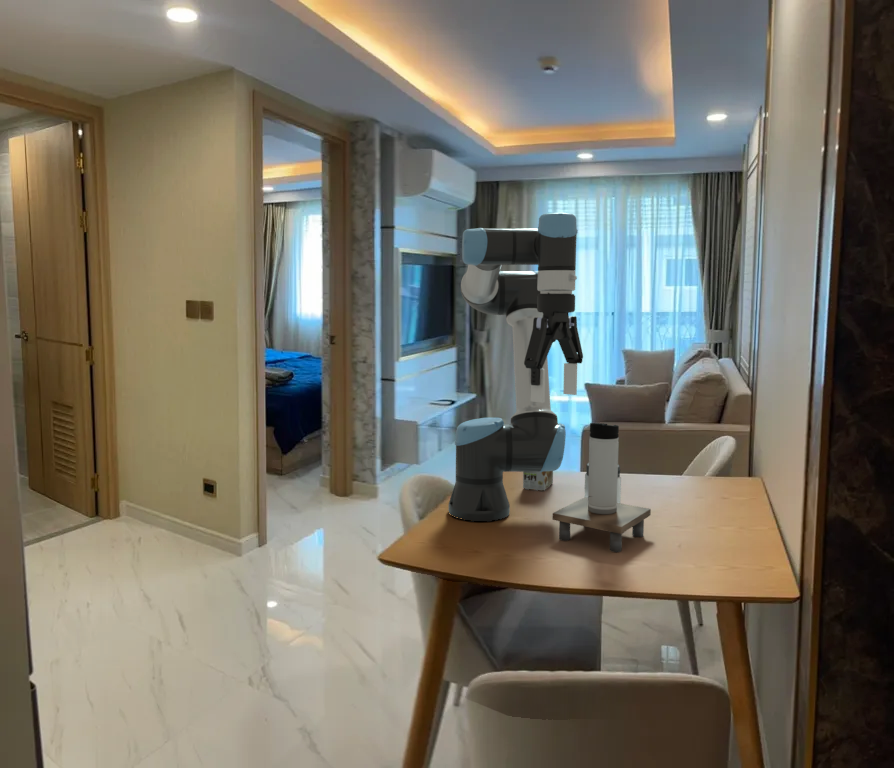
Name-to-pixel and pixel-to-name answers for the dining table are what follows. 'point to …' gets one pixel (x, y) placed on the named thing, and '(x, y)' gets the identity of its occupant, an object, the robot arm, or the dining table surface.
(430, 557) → the dining table surface
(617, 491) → the jar
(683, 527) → the dining table surface
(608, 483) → the travel mug
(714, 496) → the dining table surface
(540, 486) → the coffee box
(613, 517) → the peg shelf
